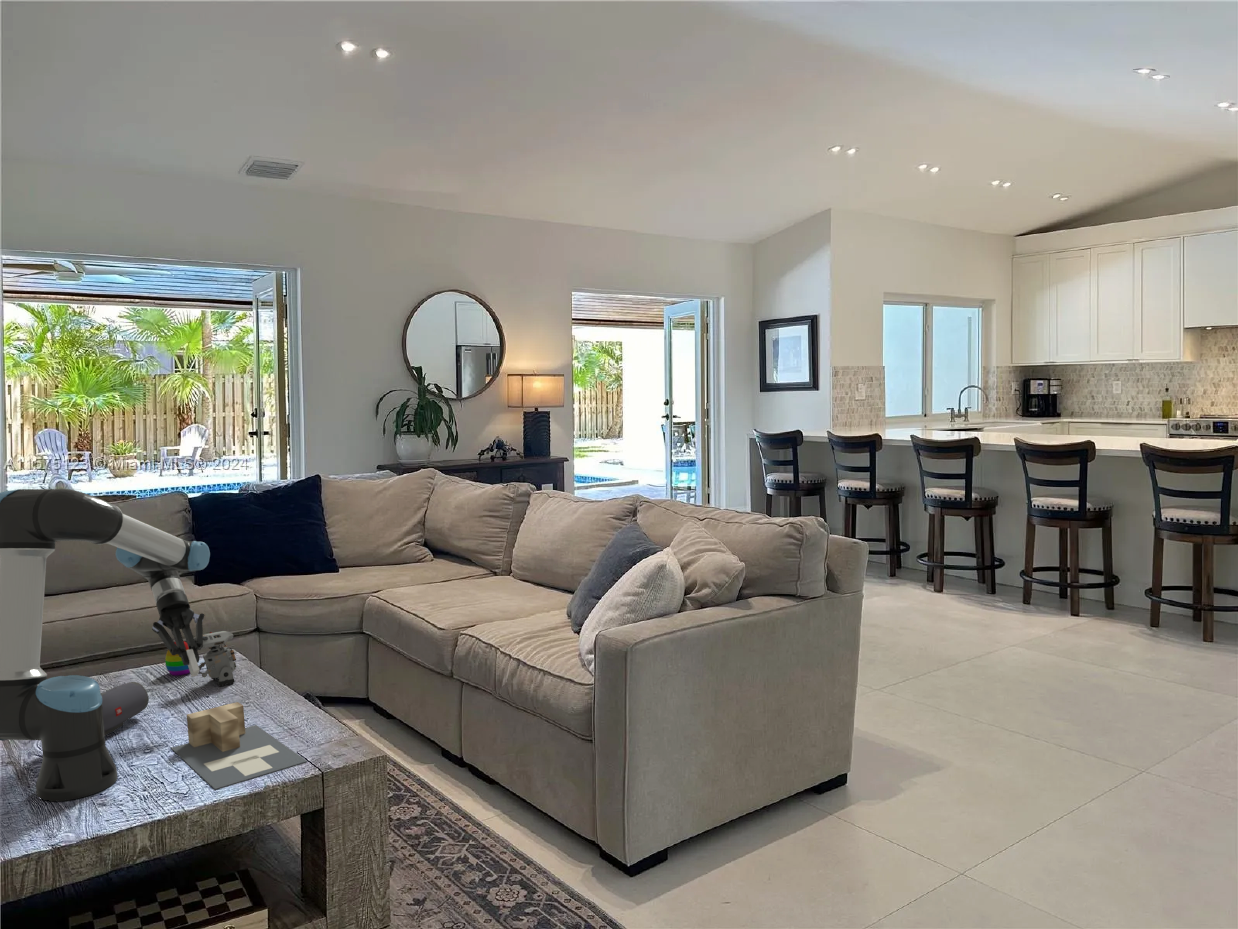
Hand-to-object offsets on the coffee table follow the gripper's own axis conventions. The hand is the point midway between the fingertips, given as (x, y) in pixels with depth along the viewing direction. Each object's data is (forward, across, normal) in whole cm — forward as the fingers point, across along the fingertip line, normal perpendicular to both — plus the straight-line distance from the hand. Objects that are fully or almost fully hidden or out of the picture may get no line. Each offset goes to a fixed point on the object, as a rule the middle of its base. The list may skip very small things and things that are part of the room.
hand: (195, 673), depth 235 cm
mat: (+30, +1, +12) cm, 32 cm away
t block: (+23, 0, +5) cm, 23 cm away
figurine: (-12, -14, -31) cm, 36 cm away
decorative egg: (-26, -10, -45) cm, 52 cm away
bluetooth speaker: (+2, +19, -17) cm, 26 cm away
